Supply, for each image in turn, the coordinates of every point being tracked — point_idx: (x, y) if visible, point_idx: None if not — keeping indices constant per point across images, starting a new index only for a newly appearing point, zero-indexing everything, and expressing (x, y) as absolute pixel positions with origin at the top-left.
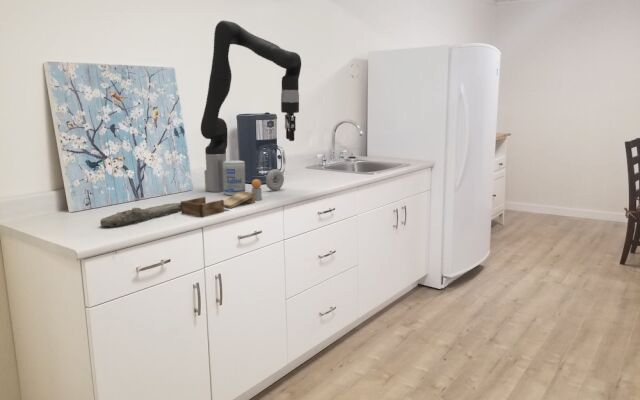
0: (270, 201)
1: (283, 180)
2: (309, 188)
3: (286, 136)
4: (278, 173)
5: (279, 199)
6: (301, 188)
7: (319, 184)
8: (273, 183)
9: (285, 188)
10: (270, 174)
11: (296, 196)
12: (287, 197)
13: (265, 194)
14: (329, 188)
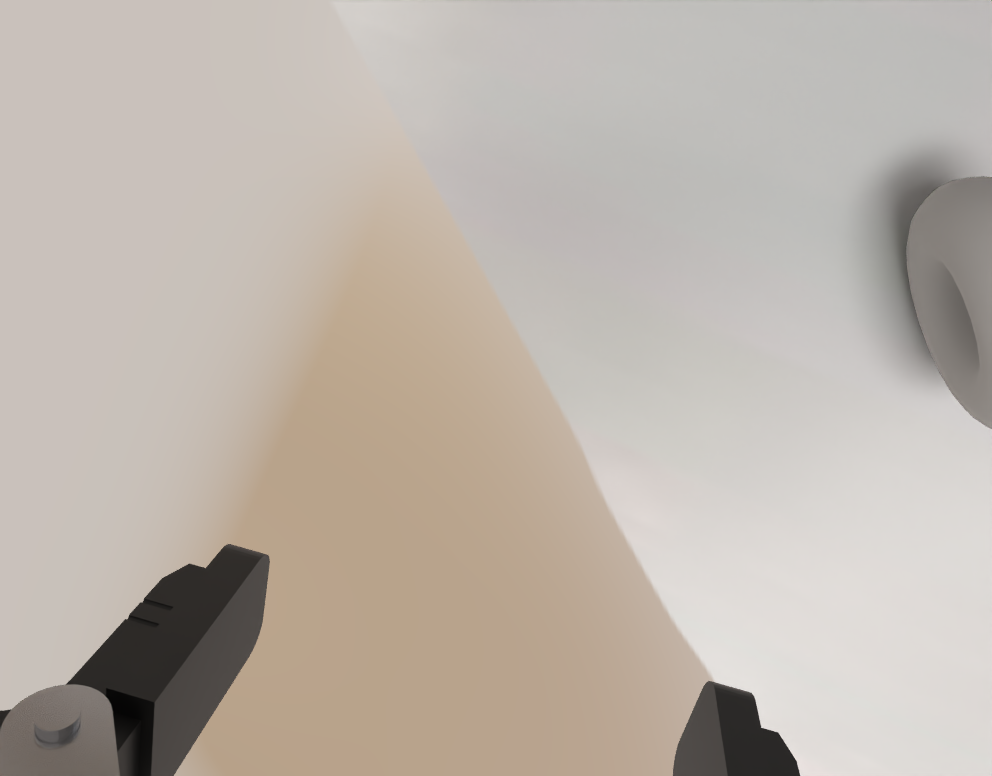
0: (412, 25)
1: (960, 403)
2: (834, 587)
3: (717, 722)
4: (983, 367)
5: (468, 143)
6: (881, 533)
7: (965, 734)
8: (930, 261)
9: None
10: (981, 247)
11: (533, 337)
12: (526, 248)
13: (790, 103)
14: None
